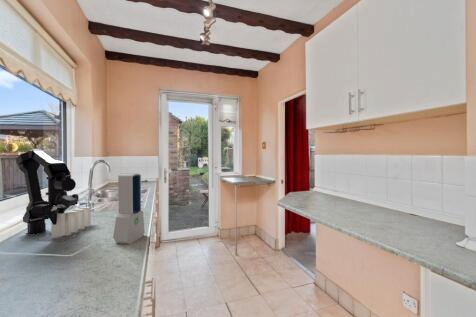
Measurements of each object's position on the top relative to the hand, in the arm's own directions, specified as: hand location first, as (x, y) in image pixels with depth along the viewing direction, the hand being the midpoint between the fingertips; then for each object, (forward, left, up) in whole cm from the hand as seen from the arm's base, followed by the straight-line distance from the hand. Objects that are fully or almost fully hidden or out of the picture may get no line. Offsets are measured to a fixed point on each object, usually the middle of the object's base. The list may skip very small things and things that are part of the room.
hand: (56, 223), depth 107 cm
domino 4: (0, +13, -6) cm, 15 cm away
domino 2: (0, +4, -6) cm, 8 cm away
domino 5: (0, +18, -6) cm, 19 cm away
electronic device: (+33, +3, -7) cm, 34 cm away
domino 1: (+1, 0, -5) cm, 5 cm away
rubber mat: (0, +8, -7) cm, 11 cm away
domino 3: (0, +9, -6) cm, 11 cm away
